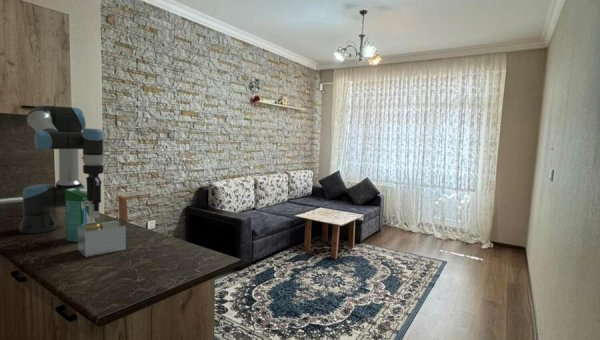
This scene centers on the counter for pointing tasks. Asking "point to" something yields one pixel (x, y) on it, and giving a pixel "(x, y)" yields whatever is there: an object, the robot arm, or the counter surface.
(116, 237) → the block
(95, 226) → the brass pin
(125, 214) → the orange tab
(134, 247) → the counter surface
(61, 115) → the robot arm
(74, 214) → the milk carton
